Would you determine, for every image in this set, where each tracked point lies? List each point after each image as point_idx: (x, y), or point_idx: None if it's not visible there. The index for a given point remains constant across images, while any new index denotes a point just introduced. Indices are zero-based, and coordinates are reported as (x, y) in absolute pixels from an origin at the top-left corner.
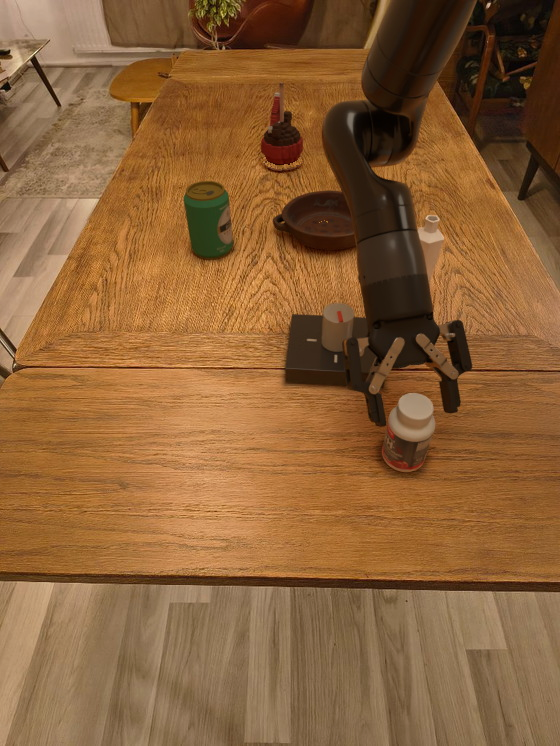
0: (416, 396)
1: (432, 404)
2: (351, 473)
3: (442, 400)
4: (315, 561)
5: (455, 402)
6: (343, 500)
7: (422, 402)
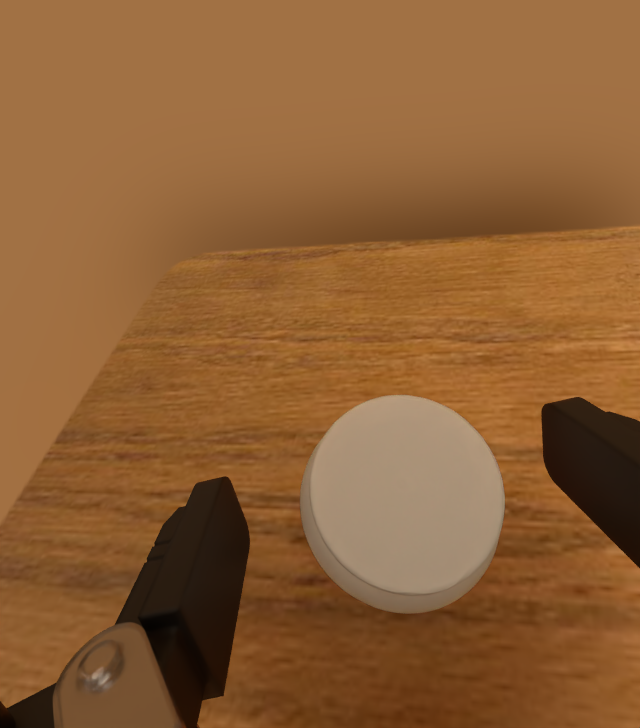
0: (390, 557)
1: (312, 488)
2: (541, 454)
3: (241, 578)
4: (594, 248)
5: (191, 504)
6: (553, 375)
7: (363, 504)
